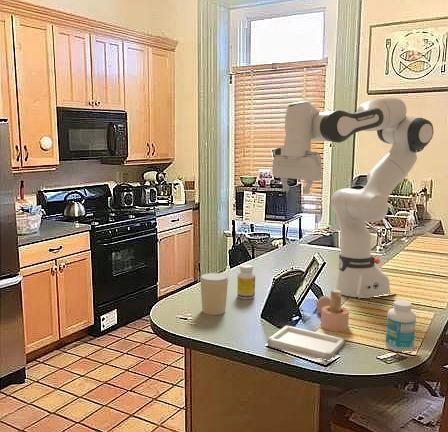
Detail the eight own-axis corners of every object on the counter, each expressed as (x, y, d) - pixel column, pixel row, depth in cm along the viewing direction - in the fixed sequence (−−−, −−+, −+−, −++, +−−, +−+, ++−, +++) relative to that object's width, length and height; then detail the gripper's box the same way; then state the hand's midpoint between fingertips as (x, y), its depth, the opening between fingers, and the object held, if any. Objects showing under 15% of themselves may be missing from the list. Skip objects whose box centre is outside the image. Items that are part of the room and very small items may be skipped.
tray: (344, 346, 140) (344, 338, 140) (328, 362, 130) (329, 354, 130) (286, 332, 150) (286, 325, 149) (267, 345, 140) (267, 338, 139)
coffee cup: (231, 308, 170) (232, 274, 168) (222, 317, 161) (222, 281, 160) (205, 304, 173) (206, 271, 171) (195, 313, 164) (195, 278, 163)
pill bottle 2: (380, 344, 142) (383, 298, 140) (406, 343, 143) (409, 298, 141) (391, 355, 135) (395, 307, 133) (418, 354, 135) (422, 307, 133)
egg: (319, 312, 167) (320, 292, 166) (334, 315, 165) (335, 295, 164) (313, 316, 163) (314, 296, 162) (328, 319, 160) (329, 299, 159)
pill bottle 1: (253, 300, 179) (254, 268, 177) (235, 298, 180) (236, 267, 178) (255, 294, 185) (256, 264, 183) (238, 293, 186) (239, 263, 184)
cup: (341, 323, 158) (342, 304, 157) (352, 332, 150) (353, 313, 149) (317, 324, 156) (317, 306, 155) (326, 334, 148) (327, 315, 147)
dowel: (337, 324, 155) (338, 289, 153) (341, 327, 152) (343, 293, 150) (327, 324, 154) (329, 290, 152) (331, 328, 151) (333, 293, 149)
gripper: (327, 151, 160) (325, 194, 162) (283, 150, 176) (282, 189, 178) (313, 152, 156) (312, 196, 158) (269, 150, 172) (268, 190, 174)
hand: (295, 192), depth 168 cm, fingers open, 8 cm apart
